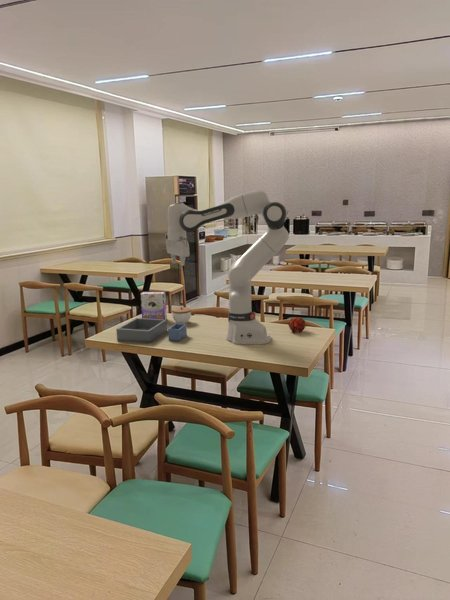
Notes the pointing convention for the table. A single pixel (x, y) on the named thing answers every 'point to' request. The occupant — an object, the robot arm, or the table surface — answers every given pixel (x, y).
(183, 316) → the lidded jar
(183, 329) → the tote
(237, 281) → the robot arm
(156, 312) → the candy box
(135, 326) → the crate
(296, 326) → the dragon fruit
